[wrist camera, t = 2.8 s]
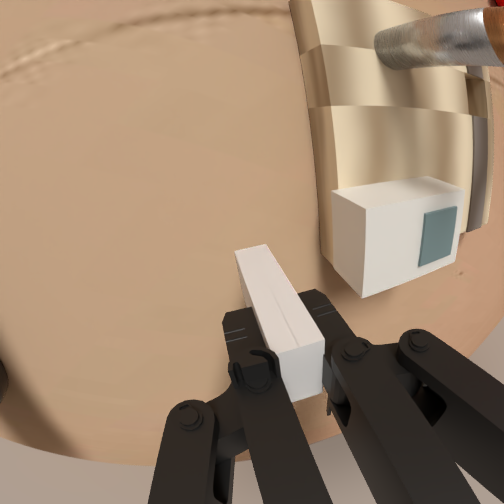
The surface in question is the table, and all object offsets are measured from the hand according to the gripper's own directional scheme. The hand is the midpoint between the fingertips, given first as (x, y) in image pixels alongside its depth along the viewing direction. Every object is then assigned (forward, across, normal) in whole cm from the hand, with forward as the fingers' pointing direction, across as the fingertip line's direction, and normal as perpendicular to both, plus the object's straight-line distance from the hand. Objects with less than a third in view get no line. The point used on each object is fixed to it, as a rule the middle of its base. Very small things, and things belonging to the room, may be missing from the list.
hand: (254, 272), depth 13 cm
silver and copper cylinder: (+2, +11, +11) cm, 16 cm away
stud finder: (+2, +9, 0) cm, 9 cm away
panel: (+5, +15, +6) cm, 17 cm away
